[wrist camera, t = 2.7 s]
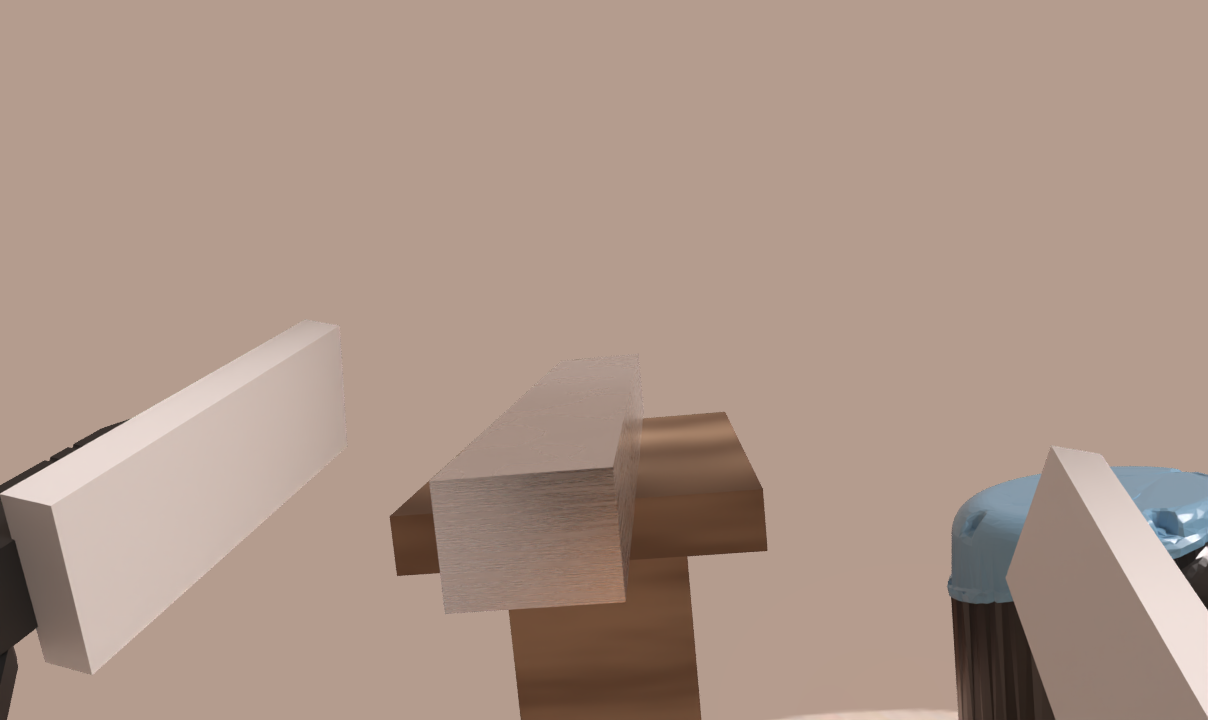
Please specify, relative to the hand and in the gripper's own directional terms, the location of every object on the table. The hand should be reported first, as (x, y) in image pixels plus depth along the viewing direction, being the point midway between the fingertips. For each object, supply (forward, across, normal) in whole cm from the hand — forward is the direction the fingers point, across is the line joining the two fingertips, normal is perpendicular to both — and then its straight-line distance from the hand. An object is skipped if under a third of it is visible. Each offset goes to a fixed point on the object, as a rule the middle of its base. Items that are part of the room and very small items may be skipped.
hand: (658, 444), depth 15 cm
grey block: (+12, -4, -8) cm, 15 cm away
